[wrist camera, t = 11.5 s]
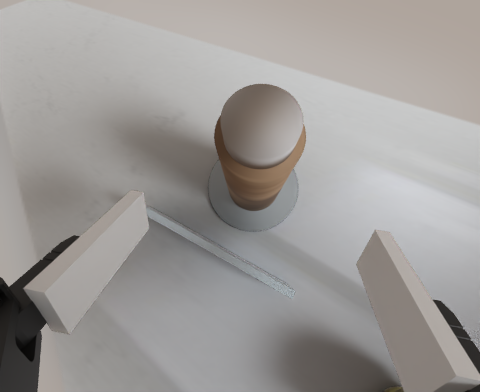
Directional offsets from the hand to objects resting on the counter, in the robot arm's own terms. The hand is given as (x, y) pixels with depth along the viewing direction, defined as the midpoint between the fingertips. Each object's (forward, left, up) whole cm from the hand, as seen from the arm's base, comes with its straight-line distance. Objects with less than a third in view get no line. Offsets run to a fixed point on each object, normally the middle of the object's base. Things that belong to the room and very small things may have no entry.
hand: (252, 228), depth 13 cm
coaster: (+2, -4, -9) cm, 10 cm away
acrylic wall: (+3, +3, -9) cm, 9 cm away
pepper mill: (+2, -4, -9) cm, 10 cm away
